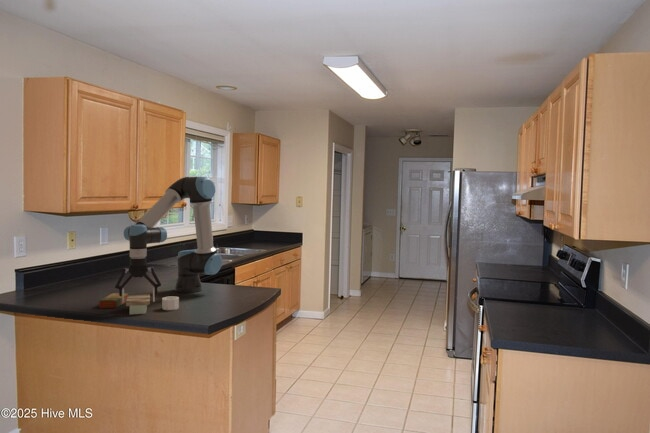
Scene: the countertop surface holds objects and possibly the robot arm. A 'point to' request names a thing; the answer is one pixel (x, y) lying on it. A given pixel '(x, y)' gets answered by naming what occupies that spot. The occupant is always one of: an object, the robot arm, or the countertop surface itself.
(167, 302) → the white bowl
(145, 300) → the maple board
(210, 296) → the countertop surface
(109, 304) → the carton
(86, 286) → the countertop surface
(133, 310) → the green stand
